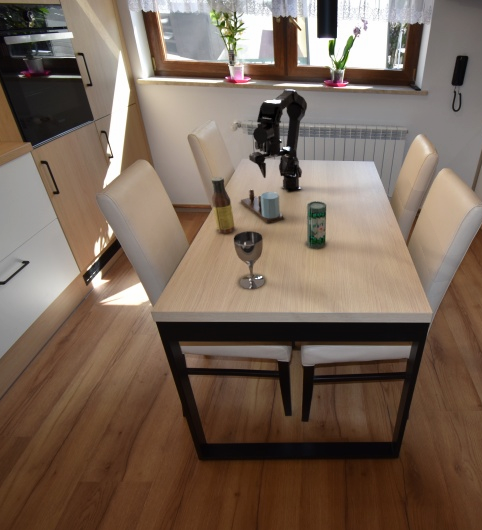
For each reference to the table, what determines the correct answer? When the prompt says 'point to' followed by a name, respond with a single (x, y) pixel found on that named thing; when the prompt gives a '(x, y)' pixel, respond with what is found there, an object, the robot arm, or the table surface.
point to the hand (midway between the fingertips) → (274, 175)
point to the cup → (270, 205)
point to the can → (316, 224)
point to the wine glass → (249, 255)
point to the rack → (257, 207)
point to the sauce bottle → (222, 206)
